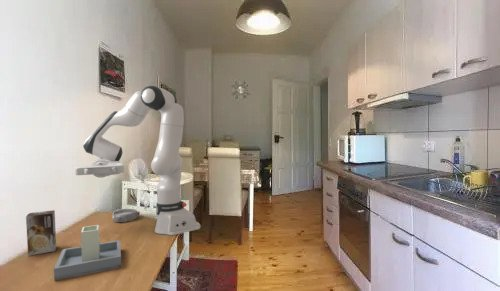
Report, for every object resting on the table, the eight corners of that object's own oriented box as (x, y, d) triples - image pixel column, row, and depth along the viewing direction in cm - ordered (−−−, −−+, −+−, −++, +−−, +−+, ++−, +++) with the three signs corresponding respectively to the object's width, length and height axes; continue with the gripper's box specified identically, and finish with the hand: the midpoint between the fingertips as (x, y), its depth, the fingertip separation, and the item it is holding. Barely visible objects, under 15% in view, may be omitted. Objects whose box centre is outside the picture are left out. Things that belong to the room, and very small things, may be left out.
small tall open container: (99, 255, 109) (98, 224, 109) (99, 262, 103) (98, 229, 102) (83, 258, 107) (82, 226, 106) (82, 265, 100) (80, 232, 100)
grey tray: (120, 249, 117) (119, 240, 117) (121, 267, 101) (121, 256, 101) (63, 259, 108) (62, 249, 108) (54, 280, 92) (53, 268, 92)
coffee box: (57, 246, 122) (55, 209, 121) (54, 251, 116) (53, 213, 115) (30, 250, 117) (29, 212, 117) (27, 256, 112) (25, 216, 111)
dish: (118, 225, 151) (118, 215, 151) (106, 220, 159) (106, 212, 159) (143, 218, 162) (143, 210, 162) (131, 215, 171) (130, 206, 171)
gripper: (76, 163, 134) (72, 165, 122) (123, 160, 143) (124, 162, 131) (76, 176, 134) (73, 180, 122) (123, 173, 143) (124, 176, 131)
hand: (100, 171), depth 126 cm, fingers open, 8 cm apart
